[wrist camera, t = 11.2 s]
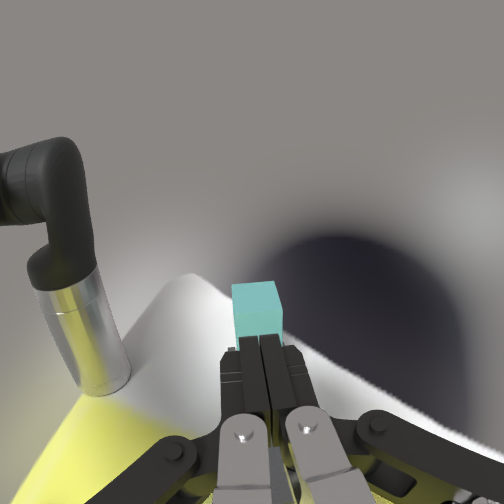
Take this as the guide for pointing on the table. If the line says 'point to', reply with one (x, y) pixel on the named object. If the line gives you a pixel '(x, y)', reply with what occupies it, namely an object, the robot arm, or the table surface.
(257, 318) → the teal block
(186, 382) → the table surface
